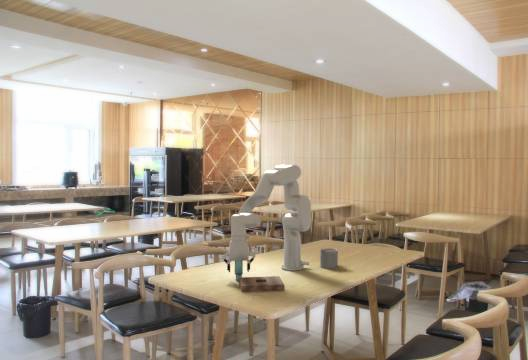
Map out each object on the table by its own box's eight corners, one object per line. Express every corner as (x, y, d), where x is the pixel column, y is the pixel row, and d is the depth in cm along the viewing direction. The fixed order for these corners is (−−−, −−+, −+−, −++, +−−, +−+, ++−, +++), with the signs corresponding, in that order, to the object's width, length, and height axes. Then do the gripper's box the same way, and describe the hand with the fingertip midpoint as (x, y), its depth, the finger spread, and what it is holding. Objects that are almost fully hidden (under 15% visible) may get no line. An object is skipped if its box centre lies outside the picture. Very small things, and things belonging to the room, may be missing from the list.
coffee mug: (330, 269, 252) (330, 252, 251) (316, 266, 259) (316, 249, 259) (344, 266, 261) (344, 249, 261) (331, 263, 268) (331, 246, 268)
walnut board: (279, 282, 225) (279, 276, 225) (284, 290, 209) (284, 284, 209) (239, 283, 223) (239, 277, 223) (241, 292, 207) (241, 285, 207)
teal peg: (242, 278, 232) (242, 255, 232) (243, 280, 228) (242, 257, 228) (234, 279, 232) (234, 256, 231) (235, 281, 228) (234, 257, 227)
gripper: (254, 236, 234) (254, 269, 234) (221, 237, 232) (221, 270, 232) (256, 239, 226) (256, 272, 227) (221, 239, 224) (222, 273, 225)
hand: (238, 271), depth 230 cm, fingers open, 9 cm apart
